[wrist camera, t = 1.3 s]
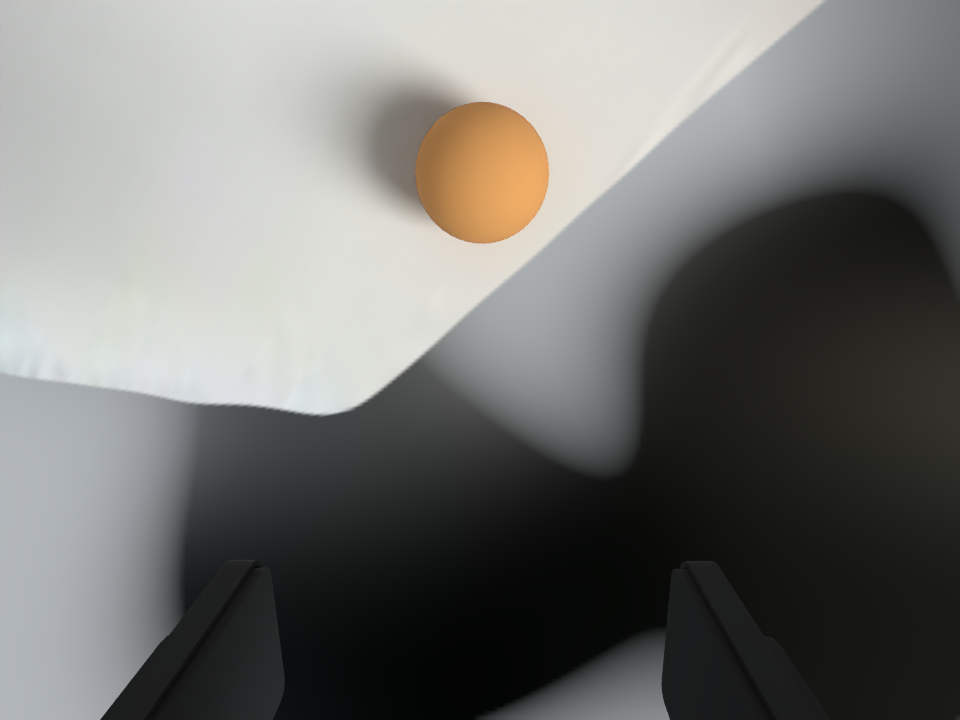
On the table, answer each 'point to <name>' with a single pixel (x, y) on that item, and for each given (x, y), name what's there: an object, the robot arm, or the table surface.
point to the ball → (482, 172)
